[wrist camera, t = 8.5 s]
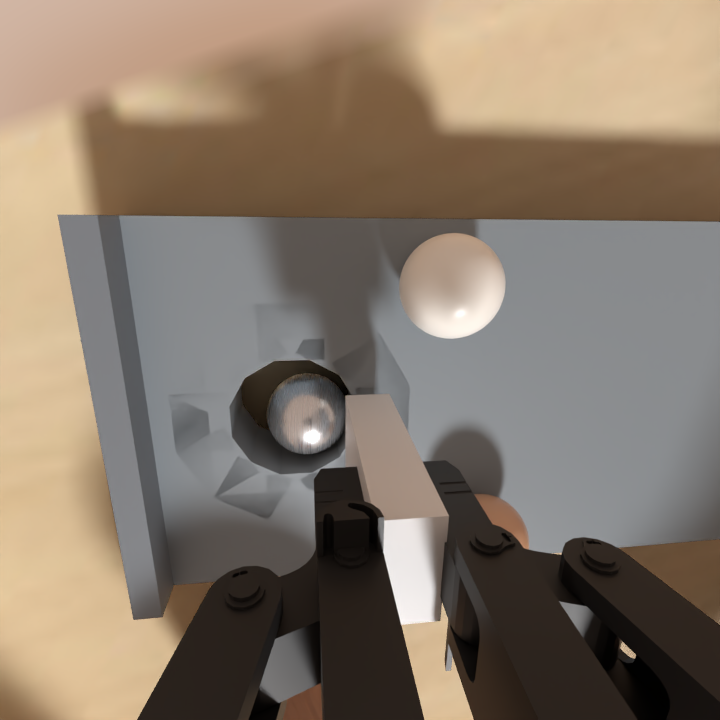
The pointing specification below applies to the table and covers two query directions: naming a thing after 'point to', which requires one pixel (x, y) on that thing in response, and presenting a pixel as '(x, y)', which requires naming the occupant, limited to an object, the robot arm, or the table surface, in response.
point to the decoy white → (452, 285)
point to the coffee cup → (305, 705)
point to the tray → (396, 378)
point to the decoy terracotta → (504, 517)
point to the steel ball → (306, 413)
